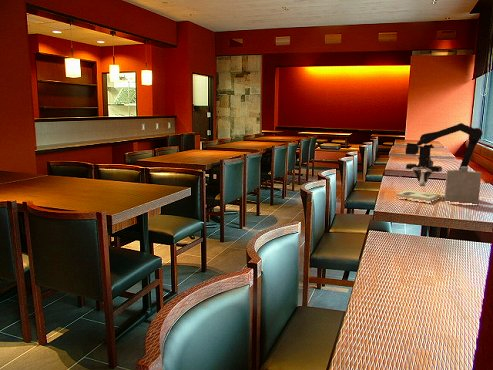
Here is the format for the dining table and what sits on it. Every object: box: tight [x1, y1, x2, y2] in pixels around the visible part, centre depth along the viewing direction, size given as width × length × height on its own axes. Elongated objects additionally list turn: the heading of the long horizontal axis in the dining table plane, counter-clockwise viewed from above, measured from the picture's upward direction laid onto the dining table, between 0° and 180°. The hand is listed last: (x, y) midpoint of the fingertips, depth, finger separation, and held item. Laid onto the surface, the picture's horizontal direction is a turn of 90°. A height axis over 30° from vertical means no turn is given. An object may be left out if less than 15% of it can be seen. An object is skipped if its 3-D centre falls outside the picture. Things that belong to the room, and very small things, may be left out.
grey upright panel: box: [443, 166, 482, 205], centre depth 219 cm, size 16×4×20 cm, turn 66°
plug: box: [418, 171, 427, 187], centre depth 244 cm, size 3×3×8 cm
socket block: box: [396, 189, 441, 201], centre depth 232 cm, size 18×14×3 cm
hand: (422, 182), depth 244 cm, fingers closed on plug, 3 cm apart
